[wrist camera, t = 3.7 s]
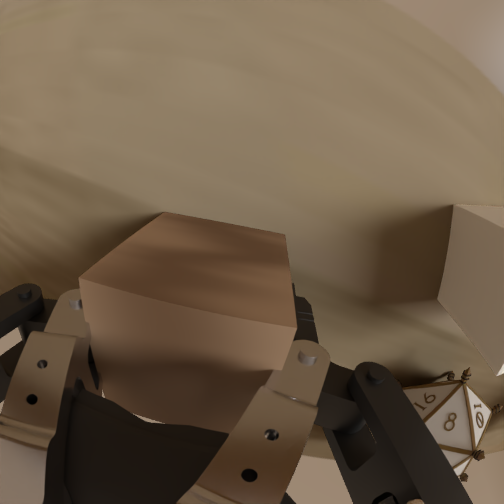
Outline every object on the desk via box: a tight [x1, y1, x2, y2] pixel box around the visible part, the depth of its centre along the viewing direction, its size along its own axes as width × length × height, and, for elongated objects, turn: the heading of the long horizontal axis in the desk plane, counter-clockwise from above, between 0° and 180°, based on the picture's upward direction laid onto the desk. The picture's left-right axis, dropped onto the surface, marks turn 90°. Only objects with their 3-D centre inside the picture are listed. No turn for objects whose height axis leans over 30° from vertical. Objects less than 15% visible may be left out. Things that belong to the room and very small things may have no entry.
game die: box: [375, 367, 503, 482], centre depth 11 cm, size 9×8×10 cm
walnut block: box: [78, 212, 297, 435], centre depth 9 cm, size 5×5×6 cm
